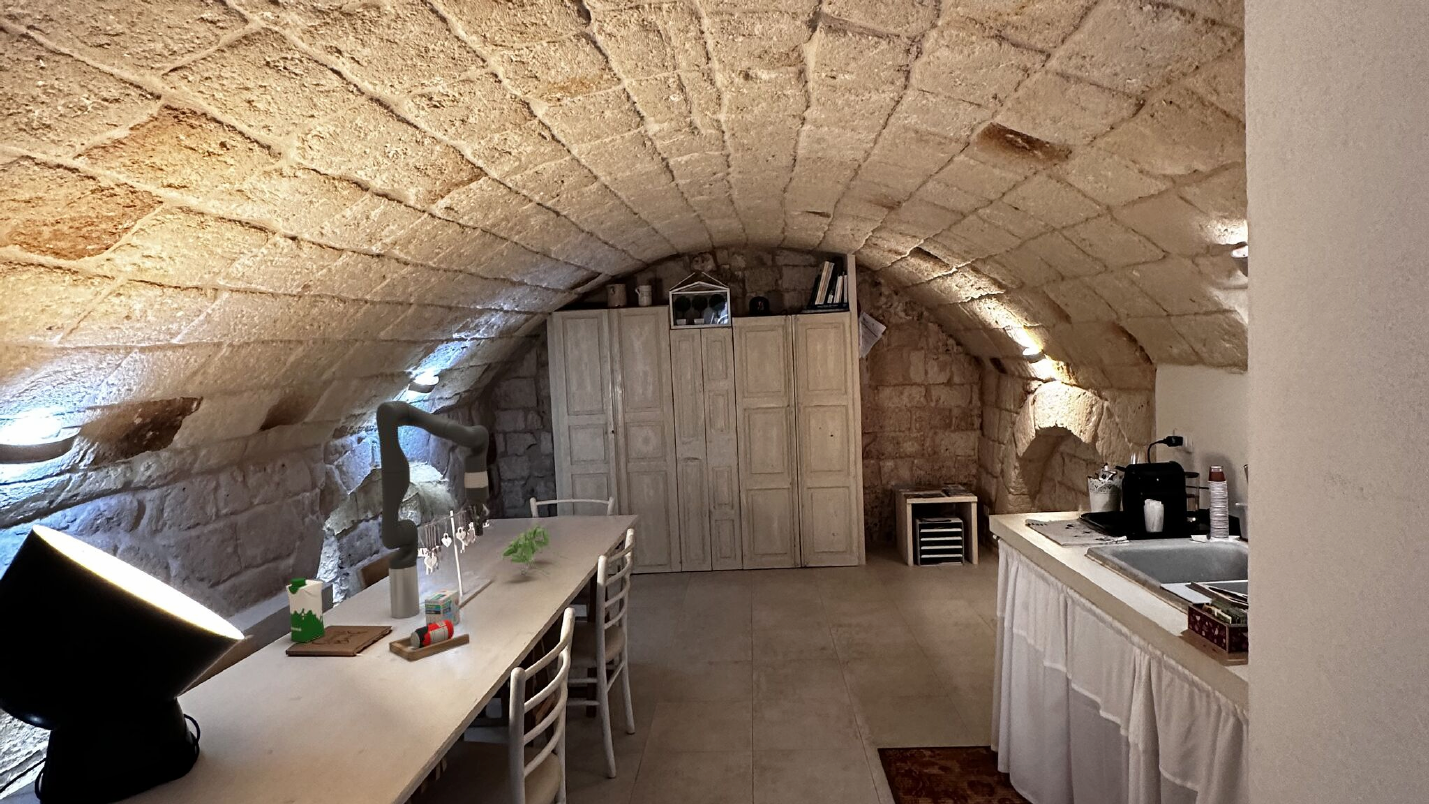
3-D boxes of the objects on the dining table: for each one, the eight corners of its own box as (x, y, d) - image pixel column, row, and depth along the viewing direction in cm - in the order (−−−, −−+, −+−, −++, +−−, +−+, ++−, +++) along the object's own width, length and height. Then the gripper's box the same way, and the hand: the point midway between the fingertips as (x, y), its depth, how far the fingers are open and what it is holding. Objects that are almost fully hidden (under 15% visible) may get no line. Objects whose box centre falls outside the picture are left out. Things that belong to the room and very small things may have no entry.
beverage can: (446, 615, 245) (410, 626, 236) (456, 625, 241) (421, 637, 232) (443, 631, 247) (408, 643, 237) (453, 642, 243) (418, 654, 234)
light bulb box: (444, 632, 250) (442, 600, 249) (425, 631, 251) (423, 599, 251) (461, 621, 260) (459, 590, 260) (443, 620, 262) (441, 589, 261)
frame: (389, 650, 235) (389, 642, 235) (447, 632, 249) (446, 625, 249) (410, 661, 226) (410, 653, 226) (469, 642, 240) (469, 634, 240)
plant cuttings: (557, 577, 334) (516, 547, 334) (579, 546, 332) (537, 516, 333) (531, 603, 299) (485, 570, 300) (555, 568, 297) (509, 535, 298)
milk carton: (286, 641, 247) (282, 580, 246) (311, 631, 255) (307, 572, 254) (305, 644, 243) (300, 582, 242) (329, 634, 251) (326, 574, 250)
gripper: (456, 484, 260) (459, 535, 261) (476, 488, 251) (479, 540, 252) (476, 481, 266) (478, 531, 267) (497, 484, 257) (499, 535, 258)
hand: (479, 535), depth 260 cm, fingers closed
